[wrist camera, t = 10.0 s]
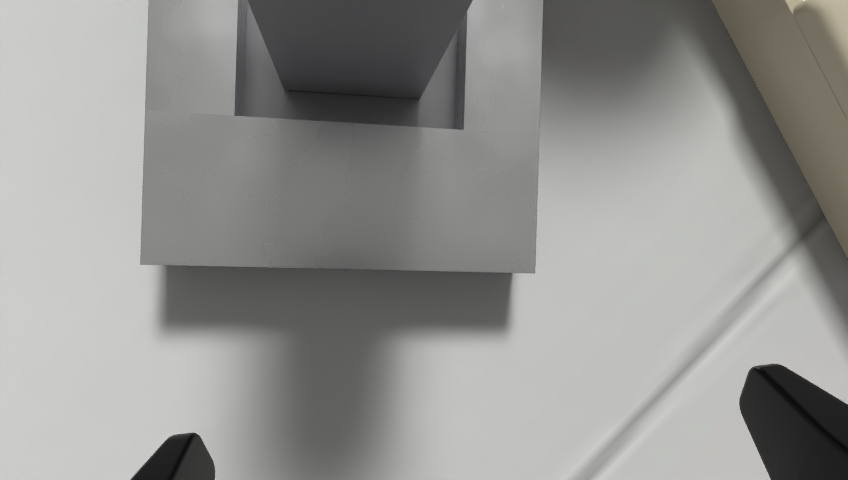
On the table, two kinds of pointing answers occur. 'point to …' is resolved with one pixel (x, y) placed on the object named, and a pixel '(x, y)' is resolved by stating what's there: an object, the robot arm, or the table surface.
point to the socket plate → (340, 151)
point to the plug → (358, 43)
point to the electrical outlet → (802, 86)
